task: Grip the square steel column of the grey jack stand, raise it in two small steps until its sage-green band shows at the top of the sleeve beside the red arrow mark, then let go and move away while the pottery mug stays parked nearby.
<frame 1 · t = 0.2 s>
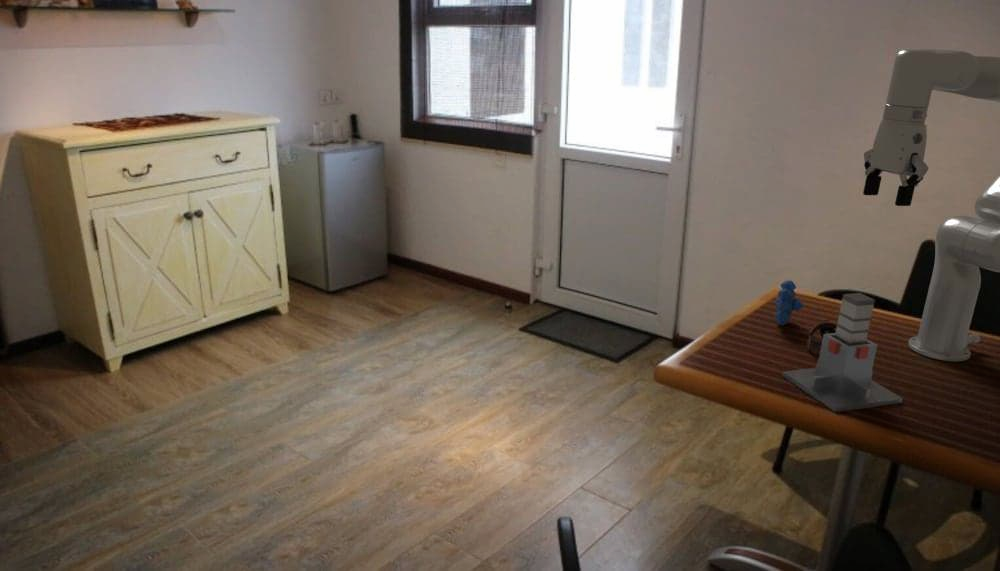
hand: (885, 200, 154), 37 cm above the table, tool pointing down, fingers open, 9 cm apart
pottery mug: (827, 352, 171), on the table
stand base: (839, 389, 153), on the table
column: (849, 341, 149), point 11 cm above the table, slide at 0.0 cm
grapes: (785, 326, 185), on the table
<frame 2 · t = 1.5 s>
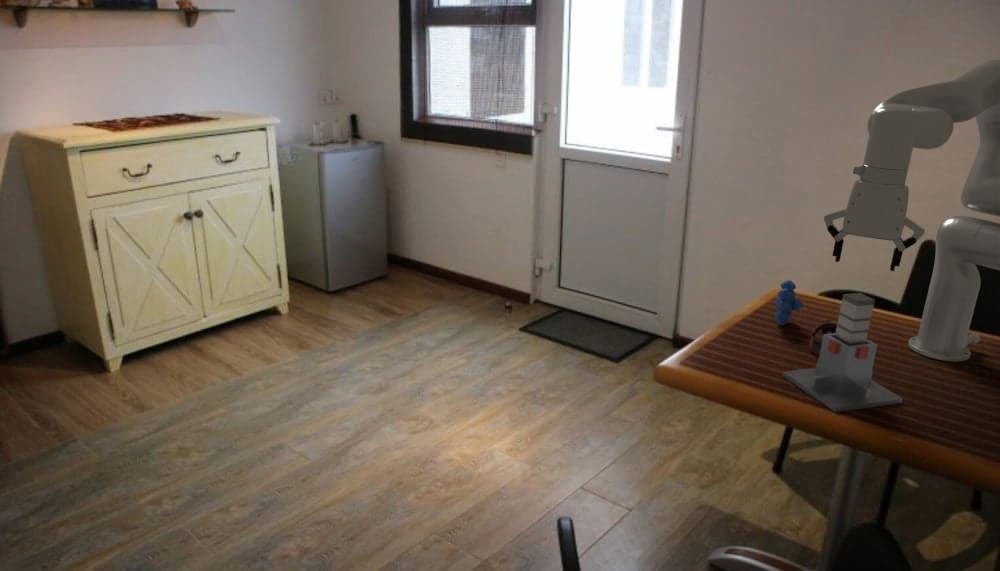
hand: (864, 264, 144), 27 cm above the table, tool pointing down, fingers open, 9 cm apart
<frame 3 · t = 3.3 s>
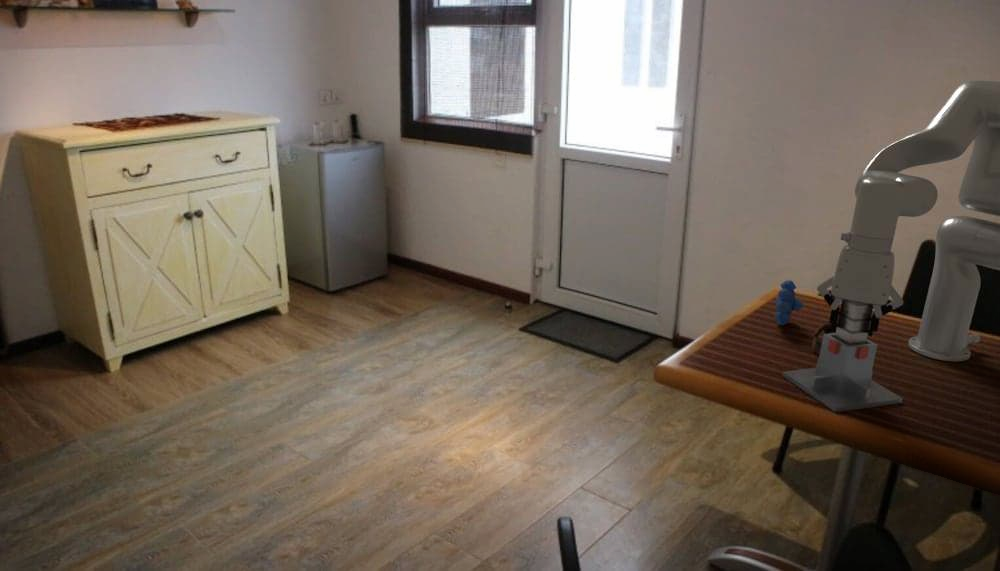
hand: (852, 329, 149), 13 cm above the table, tool pointing down, fingers closed on column, 6 cm apart
column: (849, 341, 149), point 11 cm above the table, slide at 0.0 cm, touching gripper
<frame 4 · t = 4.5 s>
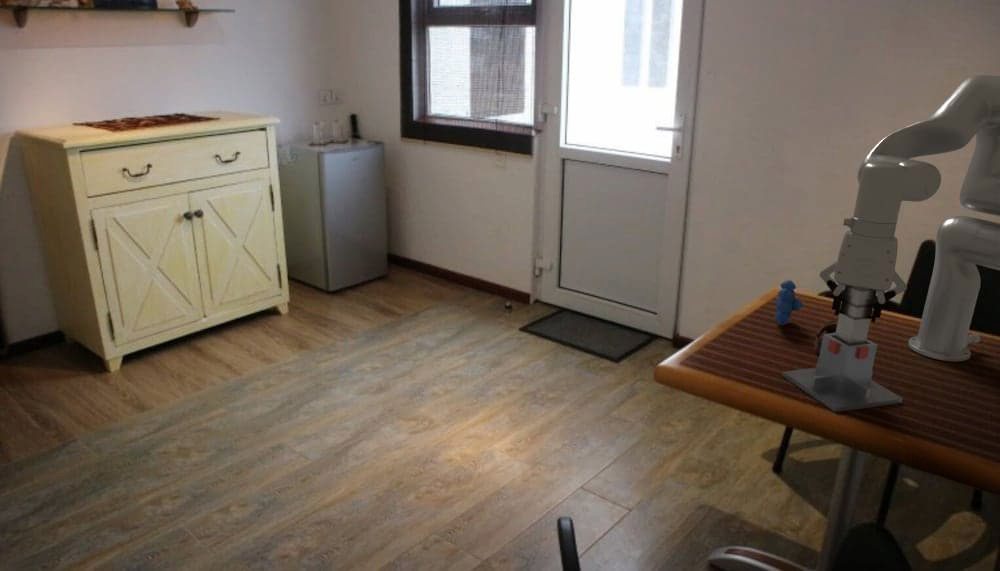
hand: (855, 316, 148), 16 cm above the table, tool pointing down, fingers closed on column, 6 cm apart
column: (852, 327, 149), point 14 cm above the table, slide at 2.9 cm, touching gripper
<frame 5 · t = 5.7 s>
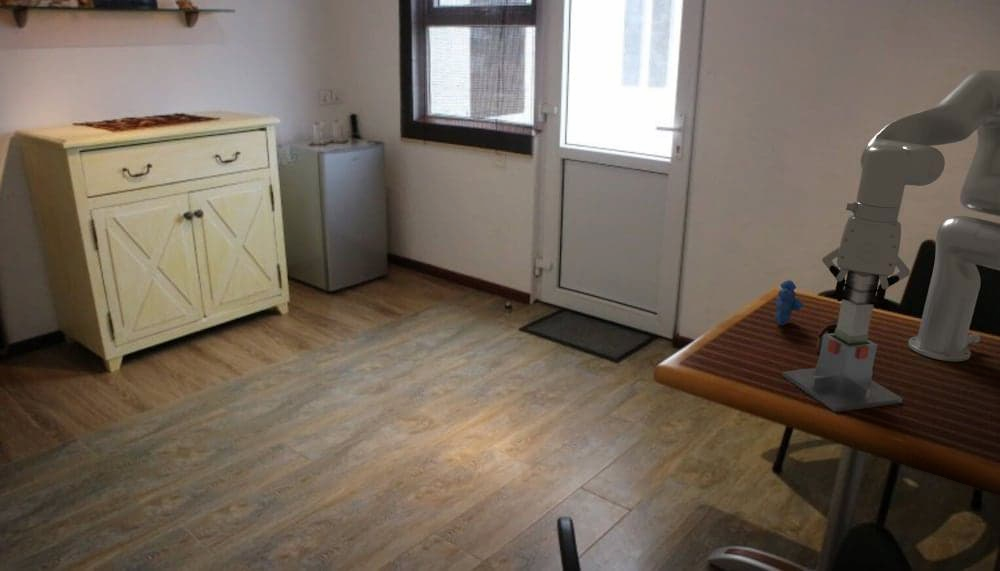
hand: (857, 301, 147), 19 cm above the table, tool pointing down, fingers closed on column, 6 cm apart
column: (855, 313, 148), point 17 cm above the table, slide at 5.9 cm, touching gripper
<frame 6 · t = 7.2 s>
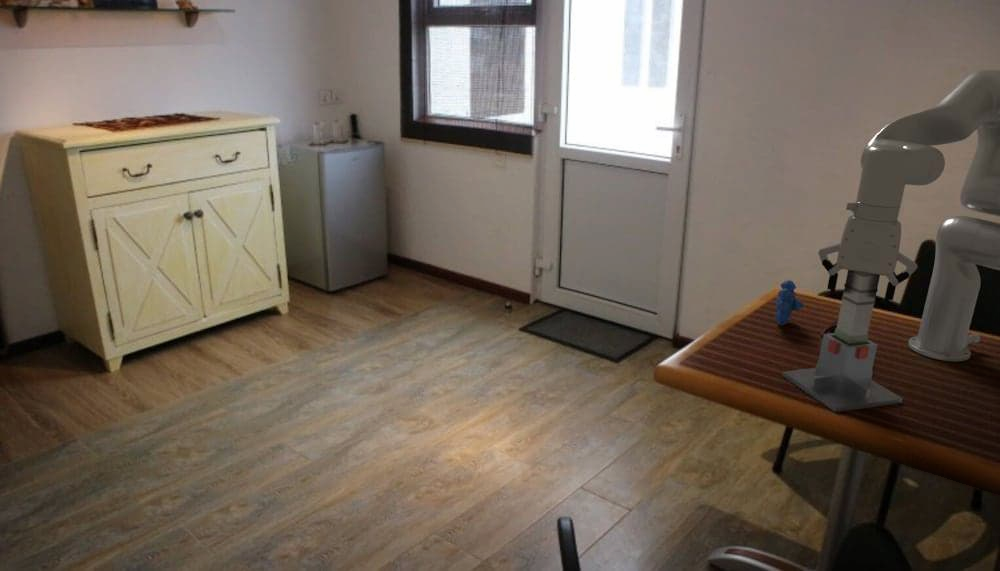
hand: (858, 298, 146), 20 cm above the table, tool pointing down, fingers open, 9 cm apart
column: (855, 313, 148), point 17 cm above the table, slide at 5.9 cm
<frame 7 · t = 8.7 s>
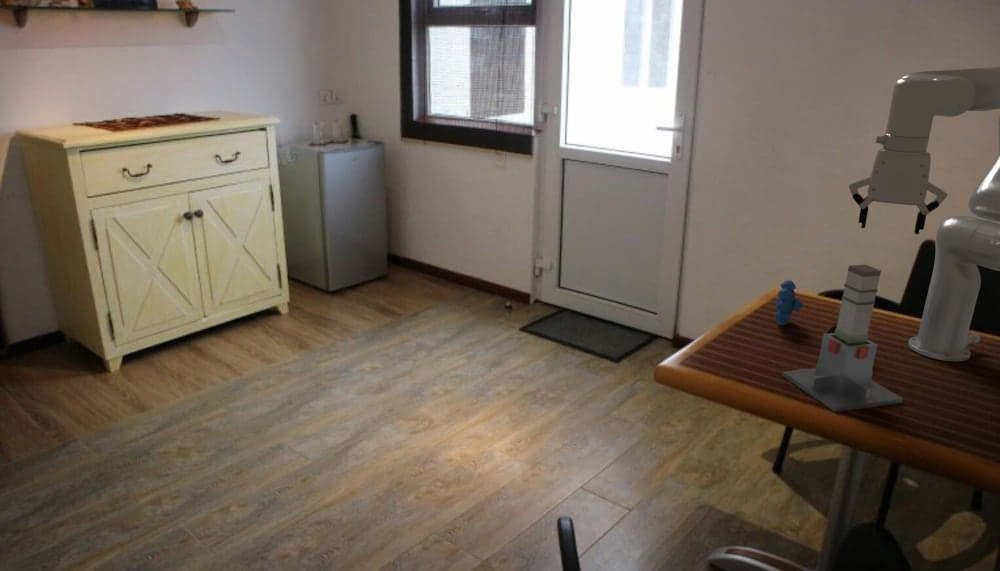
hand: (889, 229, 151), 32 cm above the table, tool pointing down, fingers open, 9 cm apart
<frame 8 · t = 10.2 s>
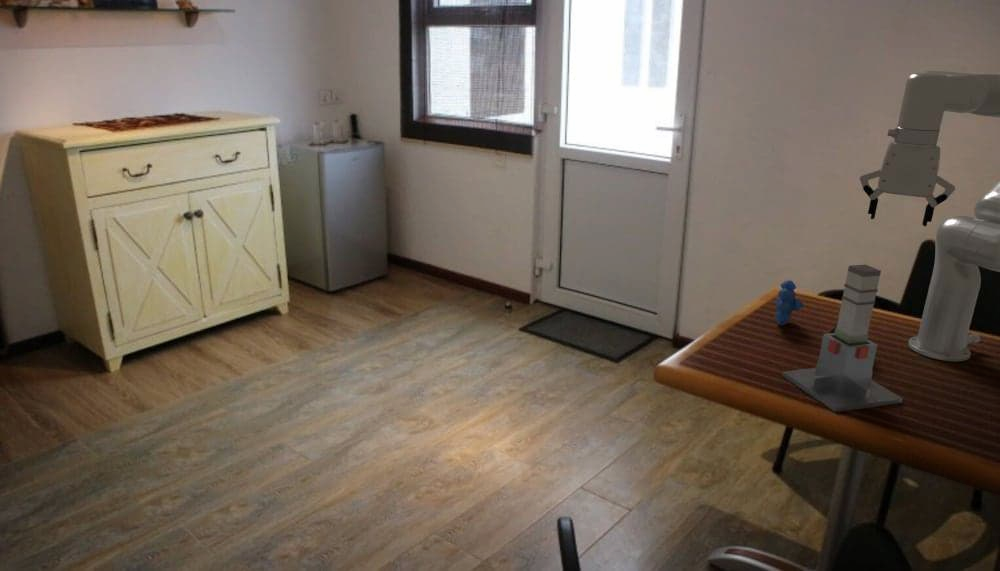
hand: (898, 221, 155), 32 cm above the table, tool pointing down, fingers open, 9 cm apart
at the end: column slide at 5.9 cm; the gripper is holding nothing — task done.
